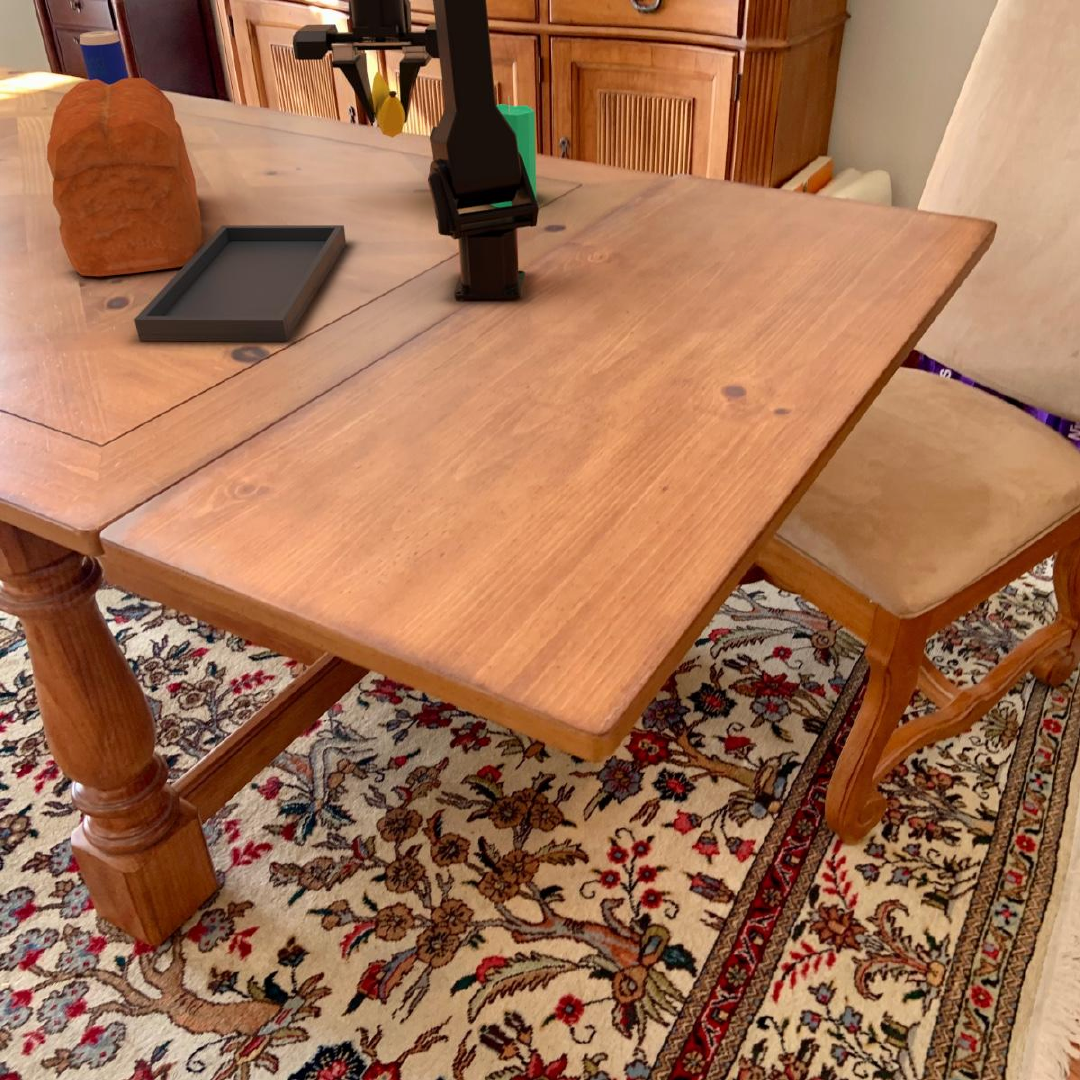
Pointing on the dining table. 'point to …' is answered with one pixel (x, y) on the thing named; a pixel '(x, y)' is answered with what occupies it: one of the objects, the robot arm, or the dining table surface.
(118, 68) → the beverage can
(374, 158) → the dining table surface
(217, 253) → the tray
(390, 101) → the banana
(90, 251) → the bread
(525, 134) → the candle
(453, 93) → the robot arm
